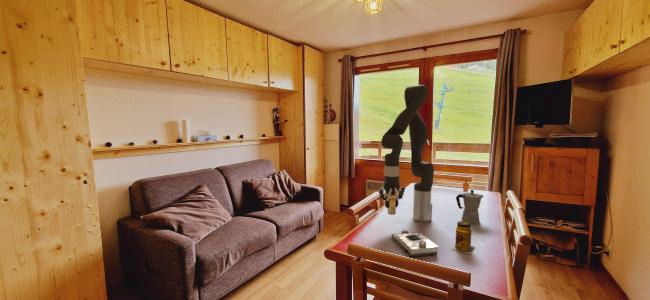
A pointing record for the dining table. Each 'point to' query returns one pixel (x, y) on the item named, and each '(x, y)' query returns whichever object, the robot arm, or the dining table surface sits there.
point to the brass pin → (392, 204)
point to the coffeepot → (470, 207)
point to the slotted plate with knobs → (415, 243)
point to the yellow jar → (463, 238)
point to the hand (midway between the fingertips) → (391, 207)
